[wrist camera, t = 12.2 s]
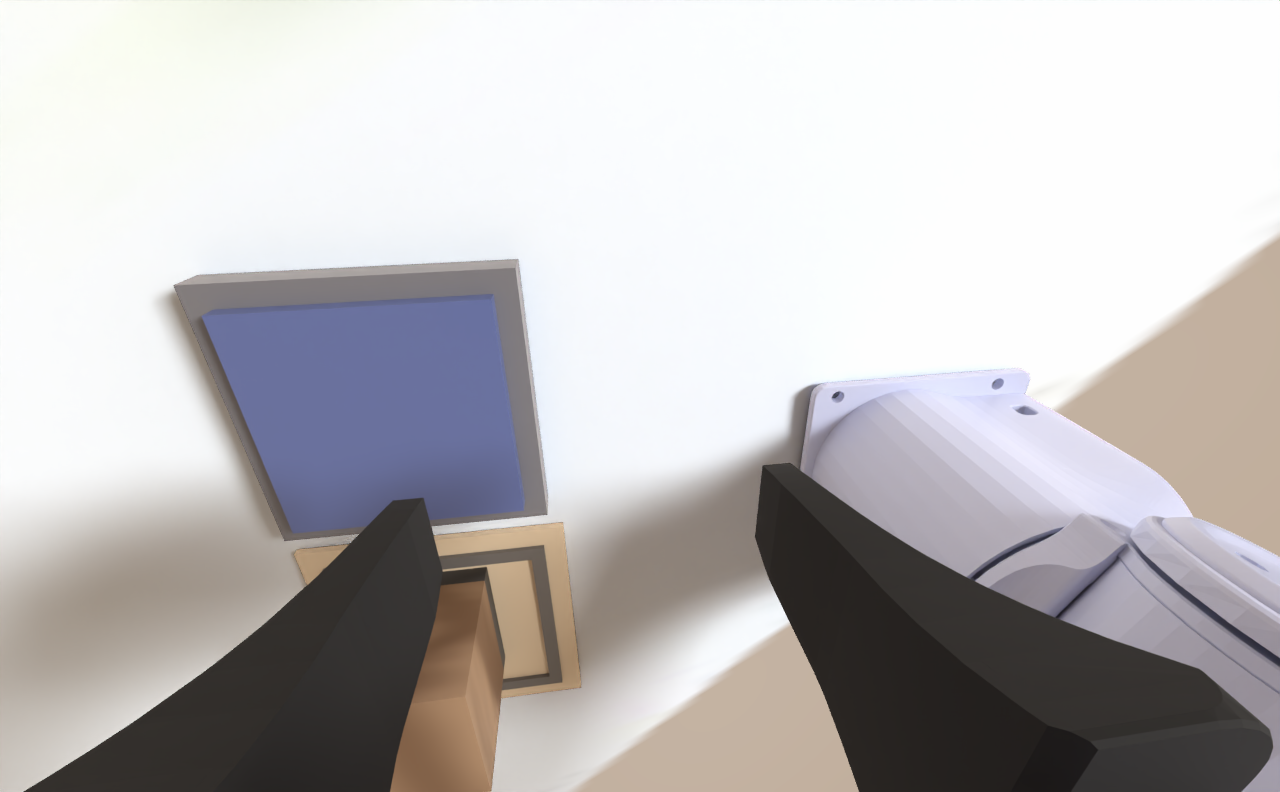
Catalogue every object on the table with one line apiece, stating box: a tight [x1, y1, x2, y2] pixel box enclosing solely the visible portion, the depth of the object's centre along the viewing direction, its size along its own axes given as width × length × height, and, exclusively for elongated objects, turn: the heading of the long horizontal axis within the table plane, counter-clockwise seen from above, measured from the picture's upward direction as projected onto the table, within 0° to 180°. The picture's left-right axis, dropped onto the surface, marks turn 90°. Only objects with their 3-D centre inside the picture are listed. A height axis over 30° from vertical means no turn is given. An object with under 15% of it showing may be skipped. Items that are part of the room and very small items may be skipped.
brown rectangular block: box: [390, 567, 505, 792], centre depth 22 cm, size 4×6×6 cm, turn 2°
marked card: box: [294, 522, 581, 698], centre depth 25 cm, size 11×11×1 cm
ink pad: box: [174, 259, 548, 541], centre depth 19 cm, size 10×10×2 cm
